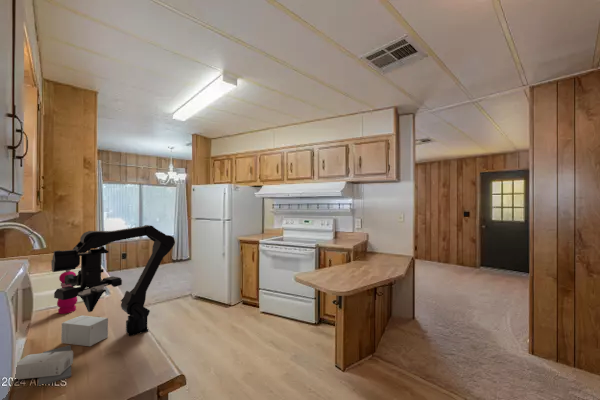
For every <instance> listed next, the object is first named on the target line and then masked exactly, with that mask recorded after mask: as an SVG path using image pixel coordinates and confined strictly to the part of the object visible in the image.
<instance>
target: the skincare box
mask: <svg viewBox="0 0 600 400" xmlns="http://www.w3.org/2000/svg"><path fill="white" fill-rule="evenodd" d="M16 363H17V367H16V374H15V378H16V379H18V380H24V379H26V380H27V379H35V378H39V377H47V376H57V375H61V374H62V373H63V372H64V371H65V370H66V369H67V368H68V367H69V366H70V365H71V366H72V364H73V363H74V351H73V350H71V351H61V352H51V353H43V352H42V353H41V352H40V353H31V354H27V355H26V356H24V357H23V358H22V359H20V360H18V361H17V362H16Z"/></svg>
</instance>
